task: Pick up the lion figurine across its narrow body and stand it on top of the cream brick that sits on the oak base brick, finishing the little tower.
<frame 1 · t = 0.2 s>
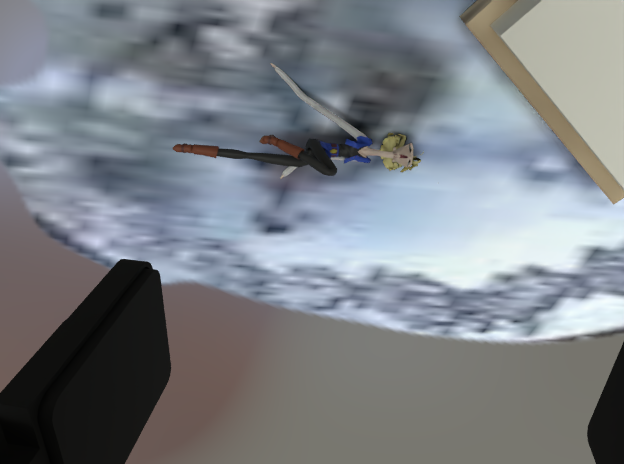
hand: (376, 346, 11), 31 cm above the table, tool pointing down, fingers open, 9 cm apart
figurine: (323, 138, 42), on the table
oak base brick: (596, 52, 35), on the table
cream brick: (617, 64, 32), point 4 cm above the table, touching oak base brick
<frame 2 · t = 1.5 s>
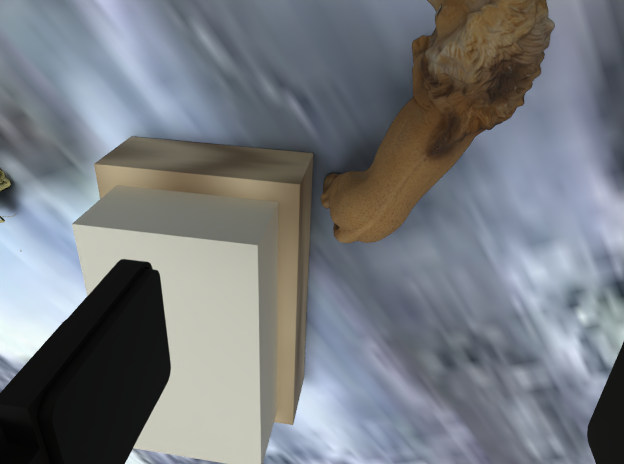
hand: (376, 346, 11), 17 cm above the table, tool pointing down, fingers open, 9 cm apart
lion figurine: (408, 102, 26), on the table
oak base brick: (226, 269, 32), on the table
cream brick: (205, 309, 29), point 4 cm above the table, touching oak base brick
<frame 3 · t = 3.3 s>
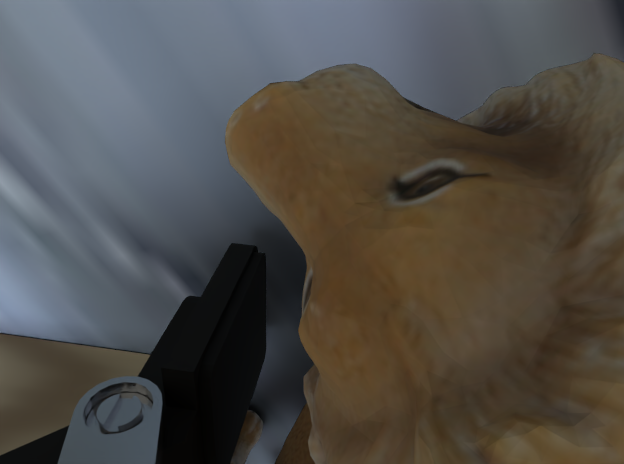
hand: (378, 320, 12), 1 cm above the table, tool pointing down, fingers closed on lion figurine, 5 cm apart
lion figurine: (357, 287, 13), on the table, touching gripper
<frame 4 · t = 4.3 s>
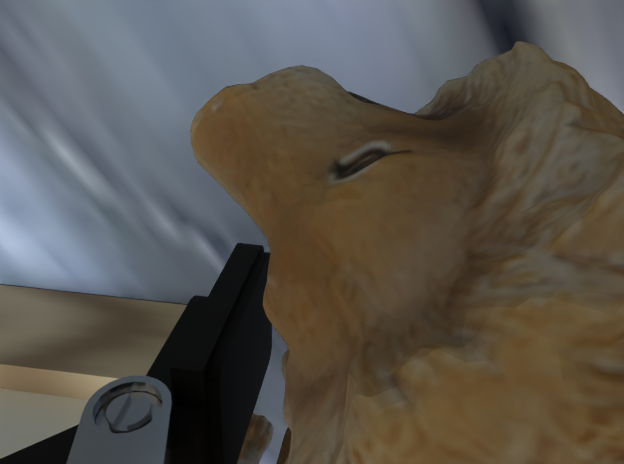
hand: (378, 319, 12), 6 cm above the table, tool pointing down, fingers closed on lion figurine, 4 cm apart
lion figurine: (355, 287, 13), point 4 cm above the table, touching gripper
oak base brick: (125, 450, 23), on the table
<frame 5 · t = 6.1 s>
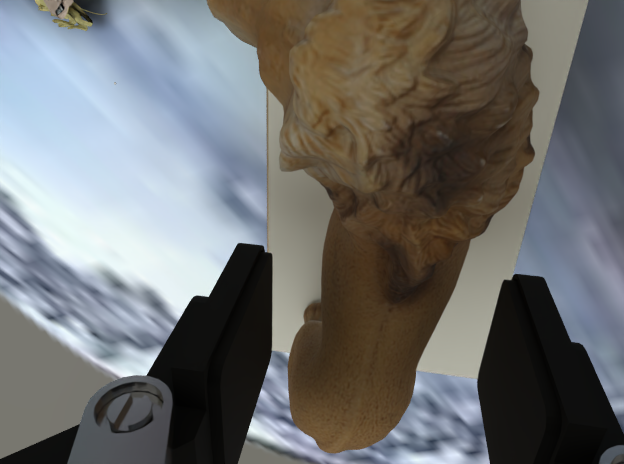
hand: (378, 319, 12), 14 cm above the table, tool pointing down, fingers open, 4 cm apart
lion figurine: (372, 173, 16), point 8 cm above the table, touching cream brick, gripper
cream brick: (398, 149, 20), point 4 cm above the table, touching lion figurine, oak base brick
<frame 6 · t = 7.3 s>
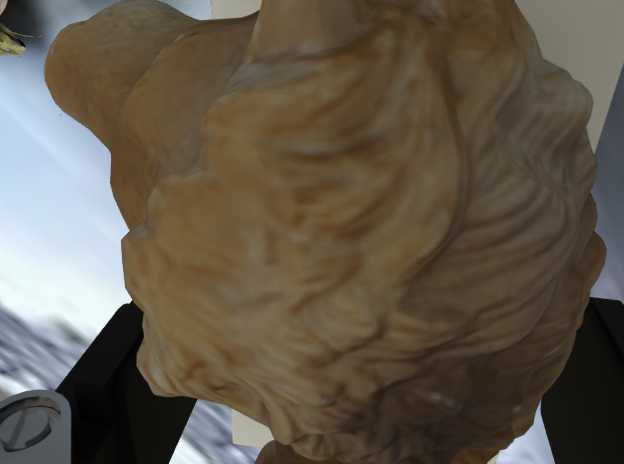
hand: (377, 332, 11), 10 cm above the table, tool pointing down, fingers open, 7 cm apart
lion figurine: (352, 250, 13), point 8 cm above the table, touching cream brick
cream brick: (385, 205, 16), point 4 cm above the table, touching lion figurine, oak base brick
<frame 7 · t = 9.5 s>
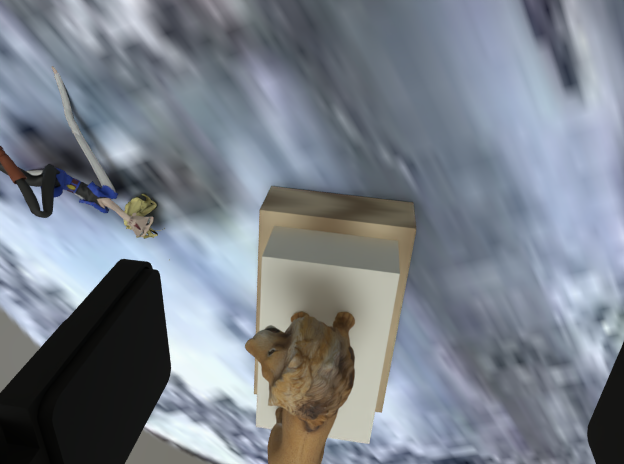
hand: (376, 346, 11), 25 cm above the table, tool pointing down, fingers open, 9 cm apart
figurine: (81, 162, 39), on the table
lion figurine: (309, 349, 34), point 8 cm above the table, touching cream brick
oak base brick: (331, 289, 41), on the table
cream brick: (326, 320, 37), point 4 cm above the table, touching lion figurine, oak base brick
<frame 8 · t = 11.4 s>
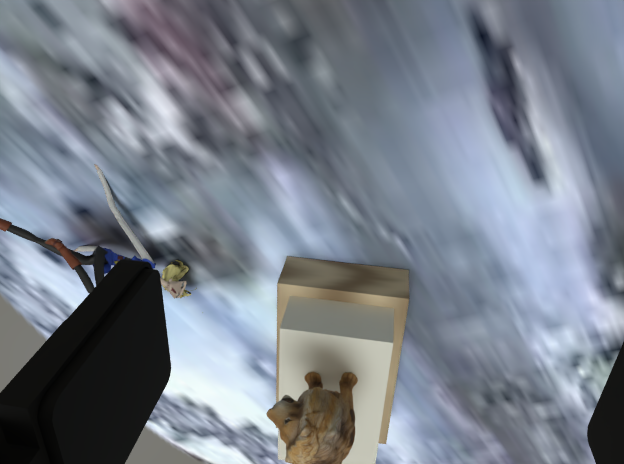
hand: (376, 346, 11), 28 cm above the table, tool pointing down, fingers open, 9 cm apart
figurine: (123, 236, 46), on the table
lion figurine: (320, 400, 40), point 8 cm above the table, touching cream brick
oak base brick: (340, 338, 47), on the table
cream brick: (335, 369, 44), point 4 cm above the table, touching lion figurine, oak base brick
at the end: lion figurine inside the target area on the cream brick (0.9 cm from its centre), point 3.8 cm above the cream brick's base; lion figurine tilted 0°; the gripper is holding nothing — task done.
